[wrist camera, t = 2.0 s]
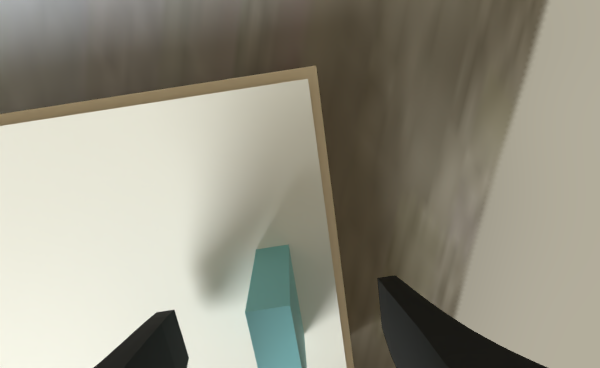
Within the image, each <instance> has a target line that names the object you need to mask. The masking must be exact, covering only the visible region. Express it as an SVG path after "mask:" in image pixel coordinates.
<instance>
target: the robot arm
mask: <svg viewBox="0 0 600 368" xmlns="http://www.w3.org/2000/svg"><path fill="white" fill-rule="evenodd" d="M378 289H379V300H380V311H381V322H382V329H383V333H384V336H385V339H386V342H387V345H388V348H389V351H390V354H391V357H392V359H393V361H394V363H395V366H396V368H547V367H545V366H543V365H540V364H538V363H536V362H533V361H531V360H529V359H527V358H525V357H523V356H521V355H518V354H516V353H514V352H512V351H510V350H508V349H506V348H504V347H502V346H500V345H498V344H496V343H494V342H493V341H491V340H489V339H487V338H485V337H483V336H482V335H480V334H478V333H476V332H474V331H473V330H471V329H469V328H468V327H466V326H465V325H463V324H461V323H460V322H458V321H457V320H455V319H454V318H452V317H450V316H449V315H447V314H446V313H444V312H443V311H442V310H440V309H439V308H437V307H436V306H435V305H433V304H432V303H430V302H429V301H428V300H426V299H425V298H424V297H422V296H421V295H420V294H418V293H417V292H416V291H415V290H413V289H412V288H411V287H409V286H408V285H407V284H406V283H404V282H403V281H402V280H401V279H399V278H398V277H397V276H388V277H382V278H378ZM188 360H189V356H188V353H187V350H186V346H185V343H184V340H183V336H182V333H181V330H180V327H179V323H178V320H177V317H176V313H175V310H168V311H162V312H156V313H155V314H154V315H153V316H151V317H150V318H149V319H148V320H147V321H145V322H144V323H143V324H142V325H141V326H140V327H139V328H138V329H136V330H135V331H134V332H133V333H132V334H131V335H130V336H129V337H128V338H127V339H125V340H124V341H123V342H122V343H121V344H120V345H119V346H118V347H117V348H115V349H114V350H113V351H112V352H111V353H110V354H109V355H108V356H107V357H105V358H104V359H103V360H102V361H101V362H100V363H98V364H97V365H96V366H95V367H94V368H187V365H188Z"/></svg>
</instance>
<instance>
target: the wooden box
mask: <svg viewBox="0 0 600 368" xmlns="http://www.w3.org/2000/svg"><path fill="white" fill-rule="evenodd" d="M303 79H308V83H309V90H310V98H311V105H312V113H313V120H314V128H315V135H316V143H317V150H318V158H319V165H320V173H321V180H322V188H323V195H324V203H325V210H326V218H327V225H328V233H329V240H330V248H331V255H332V262H333V270H334V277H335V285H336V292H337V300H338V307H339V315H340V322H341V330H342V337H343V345H344V352H345V360H346V367H347V368H354V363H353V355H352V347H351V339H350V331H349V323H348V315H347V307H346V299H345V291H344V283H343V275H342V268H341V260H340V252H339V244H338V236H337V228H336V220H335V212H334V204H333V196H332V188H331V180H330V172H329V164H328V156H327V148H326V140H325V132H324V124H323V116H322V108H321V100H320V92H319V84H318V76H317V68H316V66H309V67H303V68H296V69H290V70H283V71H277V72H270V73H264V74H257V75H251V76H244V77H238V78H231V79H225V80H218V81H212V82H205V83H199V84H192V85H186V86H179V87H173V88H166V89H160V90H153V91H147V92H140V93H134V94H127V95H121V96H114V97H108V98H101V99H95V100H88V101H82V102H75V103H69V104H62V105H56V106H49V107H43V108H36V109H30V110H23V111H17V112H10V113H4V114H0V126H4V125H10V124H17V123H23V122H30V121H36V120H43V119H49V118H56V117H62V116H69V115H75V114H82V113H88V112H95V111H101V110H108V109H114V108H121V107H127V106H134V105H140V104H147V103H153V102H160V101H166V100H173V99H179V98H186V97H192V96H199V95H205V94H212V93H218V92H225V91H231V90H238V89H244V88H251V87H257V86H264V85H270V84H277V83H283V82H290V81H296V80H303Z"/></svg>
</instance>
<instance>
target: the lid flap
mask: <svg viewBox="0 0 600 368" xmlns="http://www.w3.org/2000/svg"><path fill="white" fill-rule="evenodd" d="M168 310H175V313H176V317H177V320H178V323H179V327H180V330H181V333H182V336H183V340H184V343H185V346H186V350H187V353H188V356H189V360H188V365H187V368H347V367H346V360H345V352H344V345H343V337H342V330H341V322H340V315H339V307H338V300H337V292H336V285H335V277H334V270H333V262H332V255H331V248H330V240H329V233H328V225H327V218H326V210H325V203H324V195H323V188H322V180H321V173H320V165H319V158H318V150H317V143H316V135H315V128H314V120H313V113H312V105H311V98H310V90H309V83H308V79H303V80H296V81H290V82H283V83H277V84H270V85H264V86H257V87H251V88H244V89H238V90H231V91H225V92H218V93H212V94H205V95H199V96H192V97H186V98H179V99H173V100H166V101H160V102H153V103H147V104H140V105H134V106H127V107H121V108H114V109H108V110H101V111H95V112H88V113H82V114H75V115H69V116H62V117H56V118H49V119H43V120H36V121H30V122H23V123H17V124H10V125H4V126H0V368H94V367H95V366H96V365H97V364H98V363H100V362H101V361H102V360H103V359H104V358H105V357H107V356H108V355H109V354H110V353H111V352H112V351H113V350H114V349H115V348H117V347H118V346H119V345H120V344H121V343H122V342H123V341H124V340H125V339H127V338H128V337H129V336H130V335H131V334H132V333H133V332H134V331H135V330H136V329H138V328H139V327H140V326H141V325H142V324H143V323H144V322H145V321H147V320H148V319H149V318H150V317H151V316H153V315H154V314H155V313H156V312H162V311H168Z"/></svg>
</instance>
